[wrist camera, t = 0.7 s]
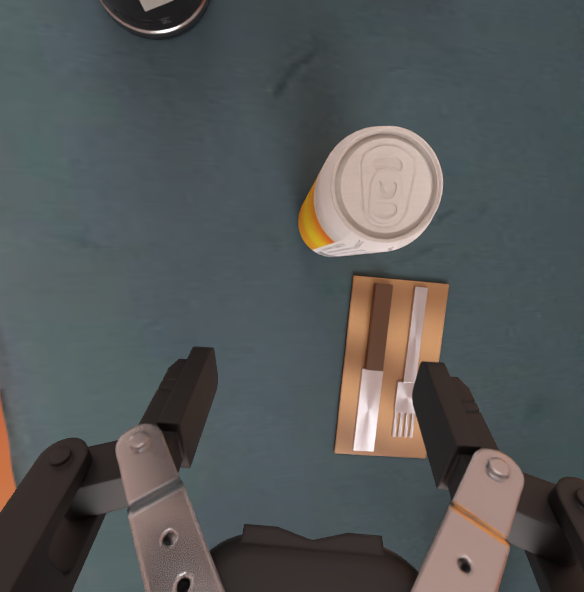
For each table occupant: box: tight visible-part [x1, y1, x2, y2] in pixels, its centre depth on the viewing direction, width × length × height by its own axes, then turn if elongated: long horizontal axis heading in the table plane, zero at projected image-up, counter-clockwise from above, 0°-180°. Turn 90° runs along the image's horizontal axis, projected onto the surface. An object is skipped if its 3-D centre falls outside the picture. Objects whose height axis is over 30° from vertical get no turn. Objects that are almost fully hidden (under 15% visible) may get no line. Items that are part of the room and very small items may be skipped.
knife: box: [353, 283, 393, 452], centre depth 32 cm, size 16×2×1 cm, turn 175°
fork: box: [391, 287, 428, 438], centre depth 32 cm, size 14×2×1 cm, turn 175°
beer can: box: [298, 126, 443, 257], centre depth 23 cm, size 6×6×15 cm
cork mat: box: [334, 275, 449, 458], centre depth 32 cm, size 17×9×1 cm, turn 175°
